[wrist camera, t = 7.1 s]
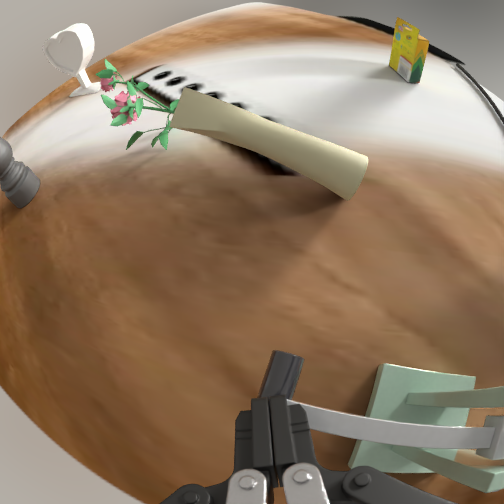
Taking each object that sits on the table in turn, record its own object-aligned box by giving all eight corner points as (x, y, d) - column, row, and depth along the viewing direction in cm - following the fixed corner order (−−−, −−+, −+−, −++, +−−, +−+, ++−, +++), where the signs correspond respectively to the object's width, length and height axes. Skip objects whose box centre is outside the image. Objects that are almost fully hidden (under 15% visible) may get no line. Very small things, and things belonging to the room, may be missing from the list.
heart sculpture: (64, 98, 50) (36, 45, 34) (77, 86, 52) (52, 35, 36) (101, 92, 46) (71, 27, 30) (115, 79, 48) (88, 17, 32)
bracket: (346, 465, 16) (417, 541, 4) (378, 364, 20) (484, 330, 8) (443, 469, 14) (545, 499, 2) (468, 377, 18) (581, 348, 5)
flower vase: (317, 245, 34) (94, 150, 36) (350, 162, 34) (135, 86, 36) (346, 229, 22) (50, 114, 24) (384, 117, 23) (106, 41, 25)
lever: (248, 444, 12) (229, 450, 11) (279, 354, 15) (266, 346, 13) (501, 478, 6) (520, 485, 4) (526, 385, 8) (548, 379, 6)
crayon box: (419, 84, 38) (432, 33, 27) (407, 83, 38) (419, 30, 27) (399, 66, 41) (408, 18, 30) (388, 64, 41) (395, 16, 31)
